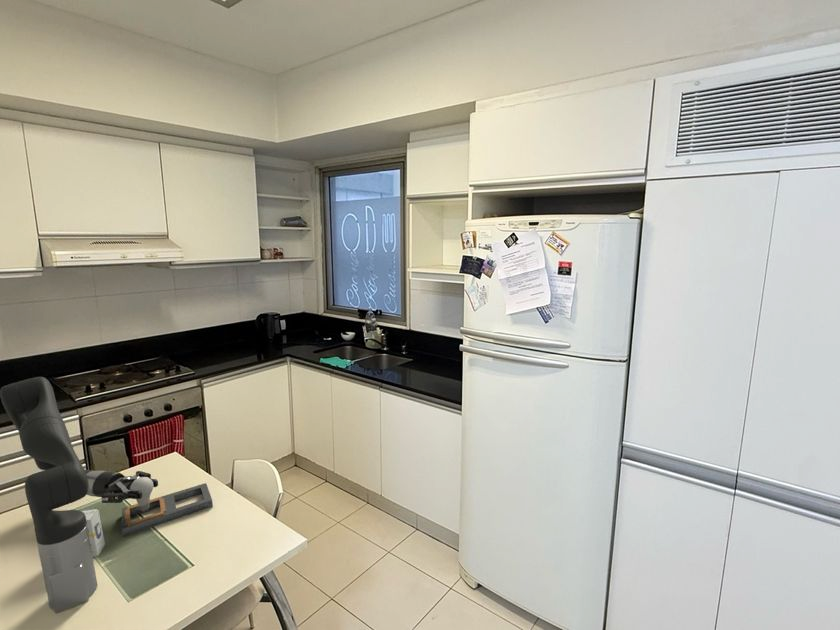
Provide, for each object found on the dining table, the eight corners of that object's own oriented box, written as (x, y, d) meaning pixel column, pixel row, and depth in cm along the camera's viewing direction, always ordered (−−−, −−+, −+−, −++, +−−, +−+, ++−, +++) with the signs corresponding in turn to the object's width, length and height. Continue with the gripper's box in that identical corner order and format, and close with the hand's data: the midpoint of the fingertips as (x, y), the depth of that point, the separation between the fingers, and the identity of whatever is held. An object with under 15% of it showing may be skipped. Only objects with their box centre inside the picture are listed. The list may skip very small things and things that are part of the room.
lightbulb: (128, 514, 130) (123, 482, 128) (146, 503, 136) (141, 471, 134) (143, 518, 128) (139, 485, 126) (161, 506, 134) (157, 474, 132)
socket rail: (212, 506, 138) (212, 499, 137) (123, 536, 124) (121, 528, 124) (206, 489, 147) (206, 482, 147) (123, 515, 134) (121, 507, 134)
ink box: (105, 544, 121) (99, 507, 119) (97, 557, 116) (91, 518, 114) (70, 550, 119) (63, 512, 117) (60, 564, 114) (53, 524, 112)
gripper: (78, 486, 126) (128, 491, 123) (120, 461, 140) (165, 465, 137) (82, 508, 127) (131, 515, 124) (123, 482, 141) (168, 487, 138)
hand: (149, 489), depth 130 cm, fingers closed on lightbulb, 5 cm apart
